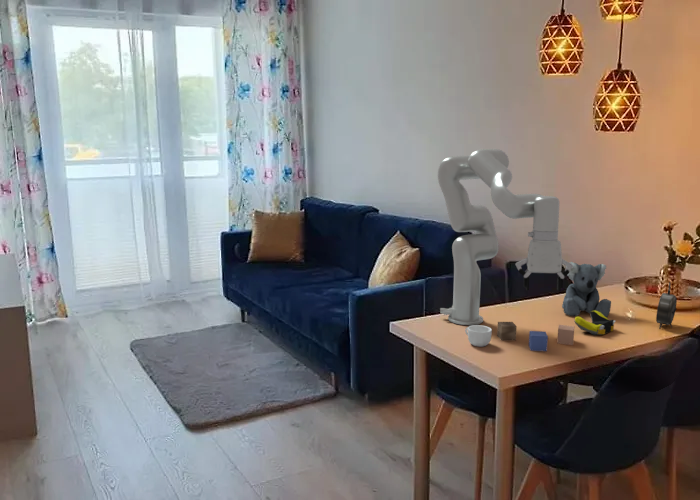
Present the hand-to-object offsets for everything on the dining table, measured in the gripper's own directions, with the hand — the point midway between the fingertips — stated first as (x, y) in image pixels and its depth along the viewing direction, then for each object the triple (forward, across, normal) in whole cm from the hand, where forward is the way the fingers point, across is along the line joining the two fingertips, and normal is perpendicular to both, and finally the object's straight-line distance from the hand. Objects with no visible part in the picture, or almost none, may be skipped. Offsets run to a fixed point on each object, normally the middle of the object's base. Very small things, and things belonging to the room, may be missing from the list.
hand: (542, 289), depth 207 cm
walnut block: (+19, -10, +10) cm, 24 cm away
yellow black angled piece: (+20, +22, +23) cm, 38 cm away
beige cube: (+20, +9, +9) cm, 23 cm away
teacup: (+19, -20, +2) cm, 28 cm away
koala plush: (+19, +22, +48) cm, 56 cm away
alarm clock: (+20, +48, +32) cm, 61 cm away
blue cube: (+20, -1, +1) cm, 20 cm away
